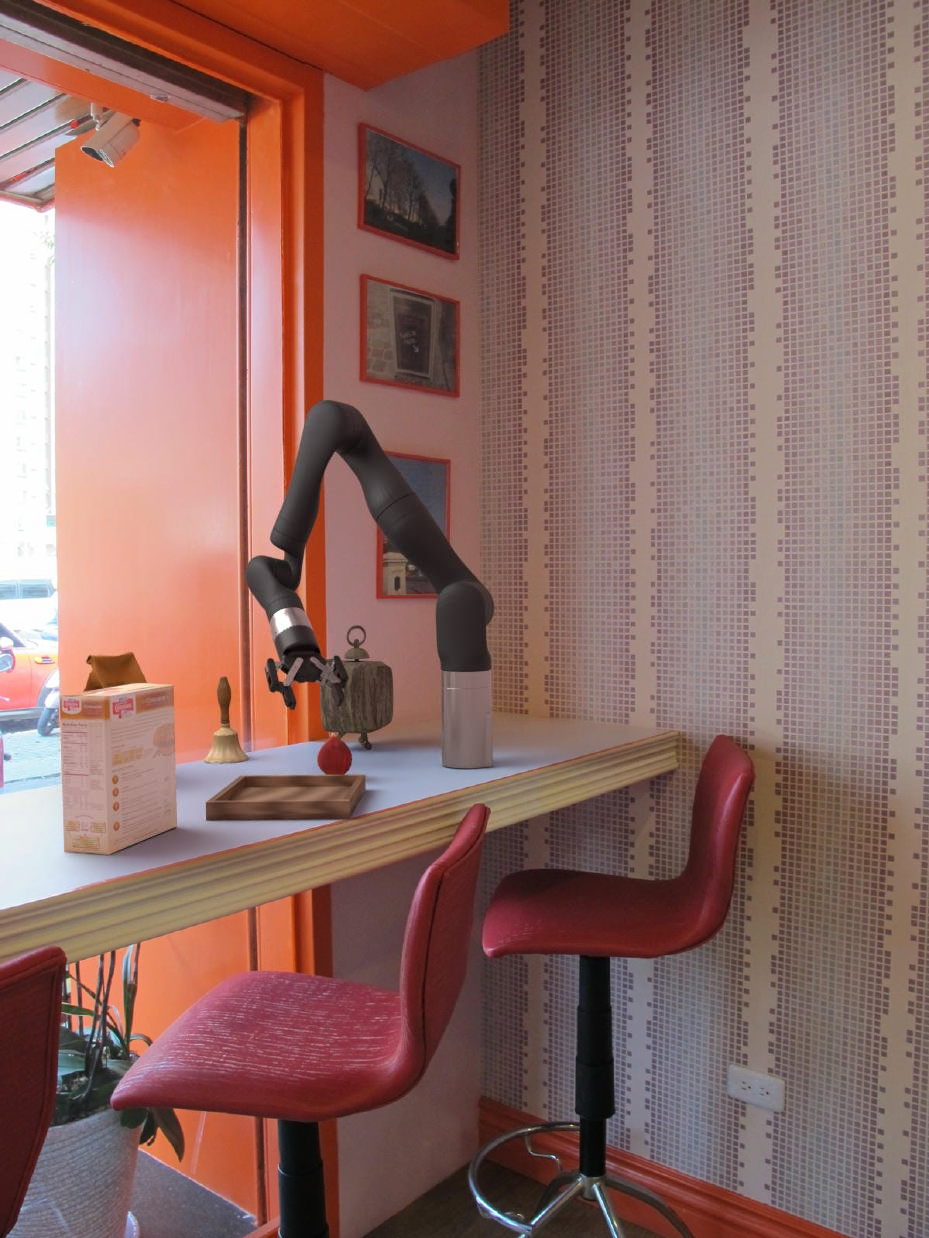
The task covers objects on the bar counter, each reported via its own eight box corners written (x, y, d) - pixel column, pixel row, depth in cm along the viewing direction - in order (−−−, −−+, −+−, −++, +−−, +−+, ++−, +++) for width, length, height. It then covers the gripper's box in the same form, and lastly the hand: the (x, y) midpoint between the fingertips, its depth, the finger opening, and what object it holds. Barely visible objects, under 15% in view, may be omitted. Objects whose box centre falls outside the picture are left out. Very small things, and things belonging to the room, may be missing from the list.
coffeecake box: (134, 824, 135) (131, 682, 134) (179, 827, 133) (176, 683, 132) (60, 851, 121) (56, 693, 120) (109, 855, 118) (106, 694, 118)
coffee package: (62, 789, 160) (59, 655, 159) (116, 776, 171) (113, 650, 171) (110, 793, 156) (107, 655, 156) (162, 779, 168) (159, 651, 167)
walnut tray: (365, 789, 156) (365, 774, 156) (349, 818, 136) (349, 800, 136) (240, 791, 157) (240, 775, 156) (206, 820, 137) (205, 802, 136)
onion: (358, 778, 166) (357, 731, 166) (343, 784, 161) (342, 736, 160) (327, 776, 168) (326, 730, 168) (311, 783, 163) (310, 735, 162)
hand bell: (237, 764, 182) (235, 678, 181) (195, 763, 183) (194, 678, 183) (255, 757, 190) (254, 674, 189) (215, 756, 192) (214, 674, 191)
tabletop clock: (359, 742, 207) (357, 624, 206) (396, 744, 203) (395, 624, 202) (320, 752, 194) (318, 626, 193) (359, 755, 190) (357, 626, 189)
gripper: (260, 624, 175) (282, 694, 165) (335, 622, 182) (360, 689, 172) (252, 652, 180) (273, 722, 170) (325, 649, 187) (349, 716, 177)
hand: (317, 705), depth 171 cm, fingers open, 8 cm apart
